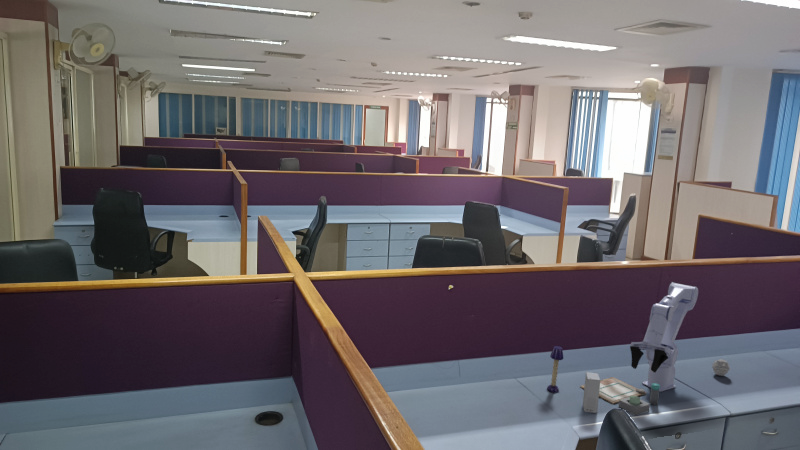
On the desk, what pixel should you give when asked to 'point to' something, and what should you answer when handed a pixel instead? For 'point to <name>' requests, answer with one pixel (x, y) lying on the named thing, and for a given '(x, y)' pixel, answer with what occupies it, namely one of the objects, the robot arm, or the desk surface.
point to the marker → (654, 393)
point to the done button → (634, 400)
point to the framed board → (616, 390)
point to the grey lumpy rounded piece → (720, 367)
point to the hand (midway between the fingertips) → (643, 369)
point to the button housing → (632, 408)
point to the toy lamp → (555, 367)
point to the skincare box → (591, 392)
